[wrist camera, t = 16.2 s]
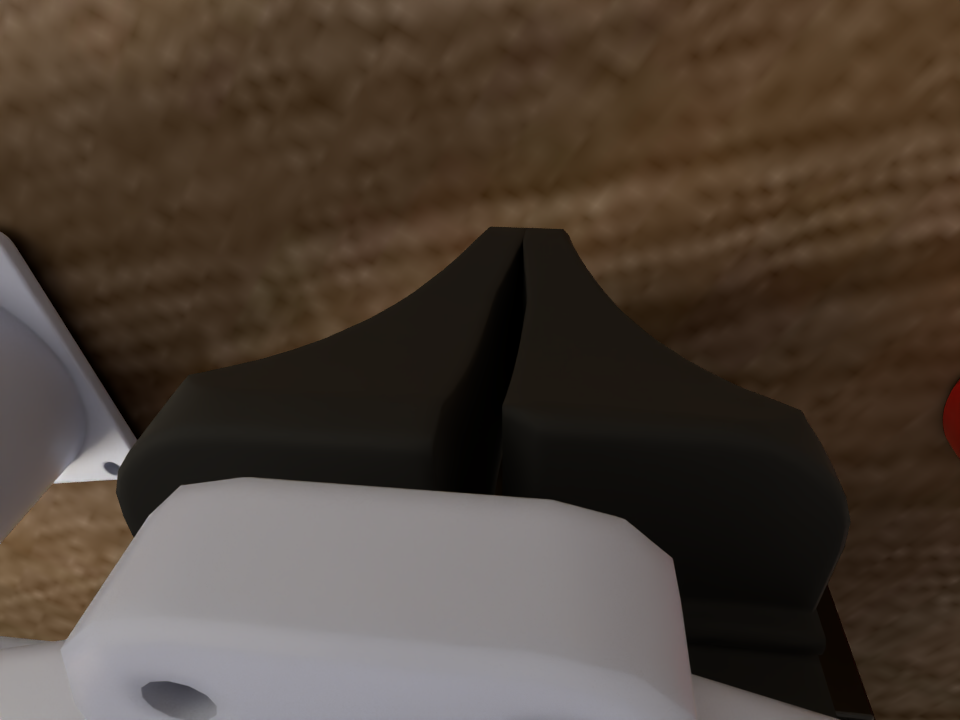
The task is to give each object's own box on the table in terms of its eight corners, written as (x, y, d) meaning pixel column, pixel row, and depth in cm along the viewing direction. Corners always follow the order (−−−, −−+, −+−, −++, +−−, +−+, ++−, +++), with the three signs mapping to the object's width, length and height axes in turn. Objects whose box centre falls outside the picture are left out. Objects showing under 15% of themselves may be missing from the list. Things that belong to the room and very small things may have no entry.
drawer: (251, 260, 15) (81, 458, 10) (840, 285, 14) (998, 528, 8) (354, 695, 25) (297, 900, 20) (691, 733, 24) (721, 961, 19)
